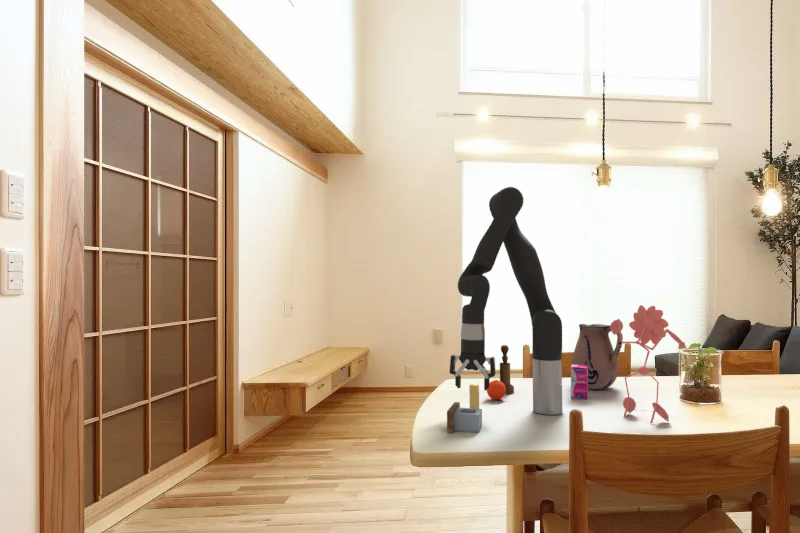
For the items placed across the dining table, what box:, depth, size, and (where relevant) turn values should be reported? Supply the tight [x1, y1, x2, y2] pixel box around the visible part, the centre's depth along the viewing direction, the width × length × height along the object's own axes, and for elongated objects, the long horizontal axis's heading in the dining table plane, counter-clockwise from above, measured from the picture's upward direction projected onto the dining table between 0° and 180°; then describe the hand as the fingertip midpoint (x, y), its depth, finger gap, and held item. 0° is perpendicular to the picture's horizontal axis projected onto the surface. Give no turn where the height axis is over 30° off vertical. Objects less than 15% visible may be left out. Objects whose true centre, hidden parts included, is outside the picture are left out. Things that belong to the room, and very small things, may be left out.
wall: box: [446, 401, 461, 434], centre depth 155 cm, size 2×12×6 cm, turn 164°
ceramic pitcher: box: [570, 323, 624, 390], centre depth 210 cm, size 18×21×25 cm
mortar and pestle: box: [499, 344, 515, 395], centre depth 203 cm, size 7×6×18 cm
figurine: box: [609, 304, 687, 429], centre depth 165 cm, size 15×26×35 cm, turn 31°
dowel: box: [469, 383, 480, 409], centre depth 166 cm, size 3×3×10 cm
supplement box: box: [570, 365, 589, 400], centre depth 193 cm, size 6×6×12 cm
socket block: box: [454, 407, 483, 434], centre depth 154 cm, size 7×7×5 cm
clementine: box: [486, 379, 507, 401], centre depth 191 cm, size 8×7×7 cm
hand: (472, 388), depth 167 cm, fingers open, 8 cm apart
